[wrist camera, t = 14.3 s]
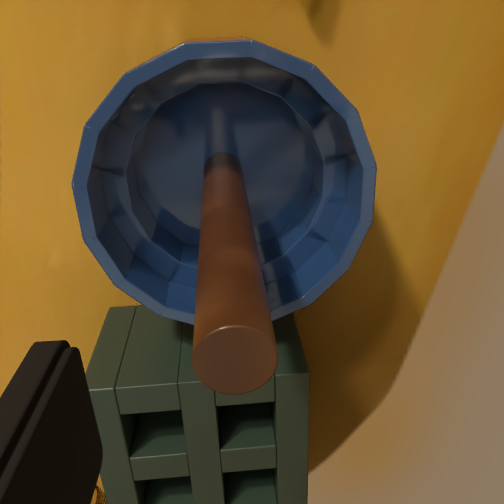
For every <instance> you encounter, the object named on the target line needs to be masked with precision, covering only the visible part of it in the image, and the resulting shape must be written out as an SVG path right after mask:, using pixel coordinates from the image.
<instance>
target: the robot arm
mask: <svg viewBox="0 0 504 504" xmlns="http://www.w3.org/2000/svg"><path fill="white" fill-rule="evenodd" d="M102 460H103V447H102V442H101V438H100V434H99V430H98V426H97V421H96V417H95V413H94V409H93V405H92V401H91V397H90V392H89V388H88V384H87V380H86V376H85V372H84V368H83V363H82V359H81V355H80V352H79V349H78V348H77V347H70V345H69V343H68V342H67V341H65V340H60V341H43V342H35V343H34V344H33V345H32V346H31V348H30V349H29V351H28V353H27V354H26V356H25V358H24V359H23V361H22V363H21V364H20V366H19V368H18V369H17V371H16V373H15V374H14V376H13V378H12V379H11V381H10V383H9V384H8V386H7V387H6V389H5V391H4V392H3V394H2V396H1V397H0V504H91V501H92V498H93V494H94V491H95V487H96V483H97V480H98V476H99V473H100V469H101V466H102Z"/></svg>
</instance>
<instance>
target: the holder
mask: <svg viewBox="0 0 504 504" xmlns="http://www.w3.org/2000/svg"><path fill="white" fill-rule="evenodd" d="M272 324H273V330H274V335H275V340H276V345H277V350H278V357H279V358H278V365H277V368H276V371H275V373H274V374H273V376H272V377H271V379H270V380H269V381H268V382H267V383H266V384H264V385H263V386H262V387H260V388H258V389H256V390H254V391H252V392H249V393H245V394H239V395H228V394H222V393H218V392H216V391H213V390H211V389H209V388H208V387H206V386H205V385H204V384H203V383H202V382H201V381H200V380H199V379H198V378H197V376H196V374H195V372H194V370H193V366H192V350H193V335H194V325H192V324H188V323H184V322H180V321H176V320H173V319H169V318H165V317H161V316H160V315H157V314H156V313H154V312H153V311H151V310H150V309H148V308H147V307H145V306H144V305H138V306H137V307H136V306H127V307H113V308H109V310H108V313H107V316H106V319H105V321H104V324H103V327H102V329H101V332H100V335H99V338H98V340H97V343H96V346H95V349H94V351H93V354H92V357H91V360H90V362H89V365H88V368H87V371H86V373H85V376H86V380H87V384H88V388H89V392H90V397H91V401H92V405H93V409H94V413H95V417H96V421H97V426H98V430H99V434H100V438H101V442H102V447H103V460H102V466H101V469H100V476H101V480H102V484H103V488H104V492H105V496H106V500H107V504H307V496H308V440H309V384H310V372H309V369H308V365H307V362H306V358H305V354H304V351H303V347H302V343H301V340H300V336H299V333H298V329H297V325H296V322H295V318H294V315H293V313H290V314H288V315H286V316H283V317H281V318H279V319H276V320H274V321H272Z"/></svg>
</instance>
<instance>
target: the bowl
mask: <svg viewBox="0 0 504 504" xmlns="http://www.w3.org/2000/svg"><path fill="white" fill-rule="evenodd" d="M217 153H228V154H231V155H233V156H234V157H236V158H237V160H238V161H239V162H240V165H241V168H242V173H243V178H244V183H245V188H246V193H247V198H248V203H249V208H250V213H251V218H252V223H253V228H254V233H255V239H256V244H257V249H258V254H259V259H260V264H261V269H262V274H263V279H264V284H265V289H266V294H267V299H268V304H269V309H270V314H271V319H272V321H274V320H276V319H279V318H281V317H283V316H286V315H288V314H290V313H293V312H295V311H297V310H300V309H302V308H304V307H307V306H309V305H310V304H312V303H313V302H314V301H315V300H316V299H317V298H318V297H319V296H321V295H322V294H323V293H324V292H325V291H326V290H327V289H328V288H329V287H330V286H331V285H332V284H334V283H335V282H336V281H337V280H338V279H339V278H340V277H341V276H342V275H343V274H344V273H346V272H347V271H348V269H349V268H350V266H351V264H352V262H353V260H354V258H355V256H356V254H357V252H358V250H359V248H360V246H361V244H362V242H363V240H364V238H365V236H366V234H367V232H368V230H369V228H370V226H371V224H372V221H373V211H374V198H375V185H376V172H377V167H376V162H375V159H374V156H373V153H372V150H371V147H370V144H369V141H368V139H367V136H366V133H365V130H364V127H363V124H362V121H361V118H360V116H359V113H358V111H357V109H356V108H355V107H354V106H353V105H352V104H351V103H350V102H349V100H348V99H347V98H346V97H345V96H344V95H343V94H342V93H341V92H340V91H339V90H338V89H337V88H336V87H335V86H334V85H333V84H332V83H331V82H330V80H329V79H328V78H327V77H326V76H325V75H324V74H323V73H322V72H321V71H320V70H319V69H318V68H317V67H316V66H315V65H313V64H312V63H309V62H307V61H305V60H302V59H300V58H297V57H295V56H292V55H290V54H287V53H285V52H282V51H280V50H277V49H275V48H272V47H270V46H267V45H265V44H262V43H260V42H257V41H255V40H252V39H250V38H247V37H242V36H239V37H217V38H194V39H189V40H186V41H184V42H182V43H180V44H179V45H177V46H175V47H173V48H171V49H169V50H167V51H165V52H163V53H161V54H159V55H157V56H155V57H153V58H151V59H149V60H148V61H146V62H144V63H142V64H140V65H138V66H136V67H135V68H133V69H131V70H129V71H127V72H126V73H125V74H124V75H122V77H121V78H120V79H119V80H118V82H117V83H116V84H115V86H114V87H113V88H112V90H111V91H110V92H109V93H108V95H107V96H106V97H105V99H104V100H103V101H102V103H101V104H100V105H99V106H98V108H97V109H96V110H95V112H94V113H93V114H92V116H91V117H90V118H89V119H88V121H87V122H86V124H85V126H84V129H83V133H82V138H81V142H80V147H79V151H78V156H77V161H76V165H75V170H74V174H73V179H72V189H73V194H74V199H75V204H76V208H77V213H78V218H79V223H80V227H81V232H82V237H83V240H84V242H85V244H86V245H87V247H88V248H89V249H90V251H91V252H92V254H93V255H94V257H95V258H96V260H97V261H98V262H99V264H100V265H101V267H102V268H103V270H104V271H105V272H106V274H107V275H108V277H109V278H110V280H111V281H112V283H113V284H114V285H116V287H117V288H119V289H120V290H122V291H123V292H125V293H126V294H128V295H129V296H131V297H132V298H134V299H135V300H136V301H138V302H139V303H141V304H142V305H144V306H145V307H147V308H148V309H150V310H151V311H153V312H154V313H156V314H157V315H160V316H161V317H165V318H169V319H173V320H176V321H180V322H184V323H188V324H192V325H194V319H195V303H196V287H197V271H198V255H199V239H200V223H201V207H202V191H203V175H204V166H205V163H206V162H207V160H208V159H209V158H210V157H211V156H213V155H215V154H217Z"/></svg>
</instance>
